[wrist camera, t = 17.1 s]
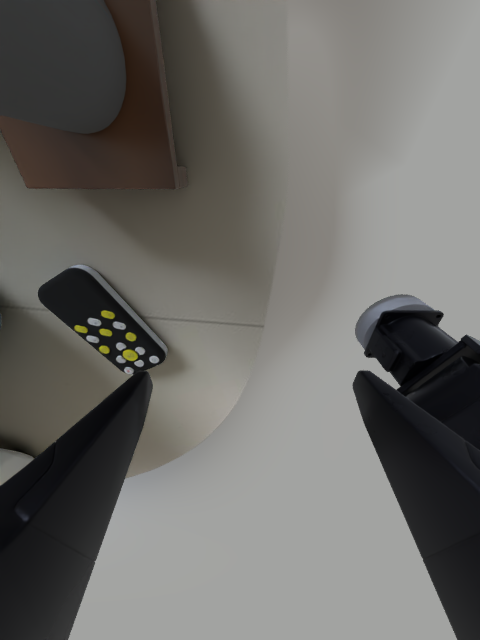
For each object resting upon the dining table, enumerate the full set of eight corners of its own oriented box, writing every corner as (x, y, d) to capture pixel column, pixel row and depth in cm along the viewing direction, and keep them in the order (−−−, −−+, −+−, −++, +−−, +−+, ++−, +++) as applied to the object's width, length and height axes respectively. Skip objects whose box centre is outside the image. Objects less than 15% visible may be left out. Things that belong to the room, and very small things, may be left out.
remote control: (86, 256, 19) (72, 264, 18) (174, 351, 26) (169, 363, 24) (41, 286, 21) (24, 295, 19) (134, 368, 27) (127, 380, 26)
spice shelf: (159, -83, 10) (58, -410, 5) (188, 186, 17) (160, 192, 11) (-31, -86, 10) (-376, -420, 5) (69, 185, 16) (-23, 191, 11)
